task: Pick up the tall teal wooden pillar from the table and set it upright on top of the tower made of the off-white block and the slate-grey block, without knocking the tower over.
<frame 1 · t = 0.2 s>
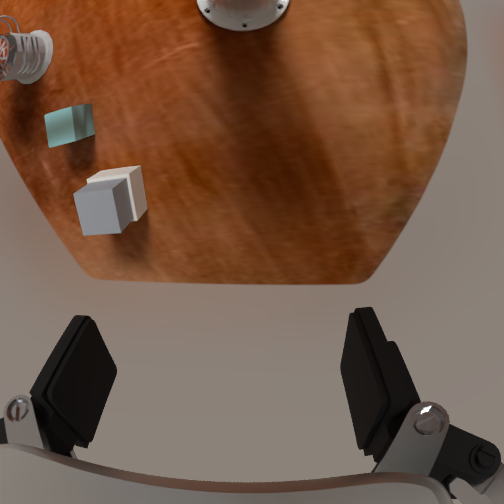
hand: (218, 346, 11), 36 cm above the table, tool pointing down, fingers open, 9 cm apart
teal pillar: (80, 121, 39), on the table
tower top: (111, 200, 41), point 5 cm above the table, touching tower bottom
french press: (32, 52, 33), on the table
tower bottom: (124, 189, 45), on the table, touching tower top
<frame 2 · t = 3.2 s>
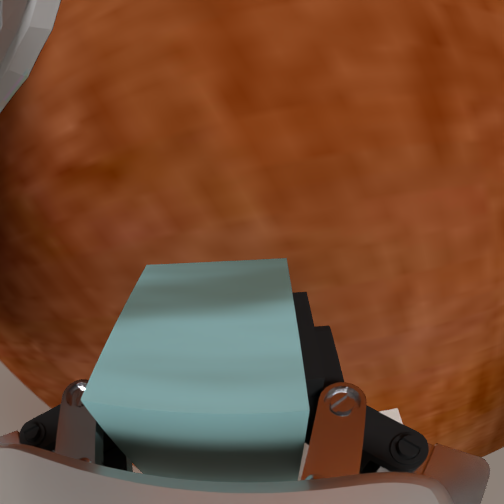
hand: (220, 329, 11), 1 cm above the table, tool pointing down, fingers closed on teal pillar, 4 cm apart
teal pillar: (222, 317, 12), on the table, touching gripper
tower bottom: (334, 440, 18), on the table, touching tower top
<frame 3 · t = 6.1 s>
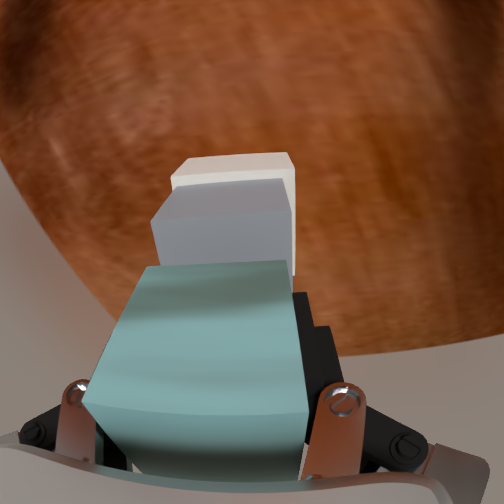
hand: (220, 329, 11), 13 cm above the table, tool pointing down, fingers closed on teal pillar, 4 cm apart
teal pillar: (222, 318, 12), point 12 cm above the table, touching gripper
tower top: (233, 229, 19), point 5 cm above the table, touching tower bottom
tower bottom: (240, 200, 23), on the table, touching tower top
when the fingers open (12 cm above the table, at t = 6.7 s): teal pillar drops 1 cm, resting on tower top.
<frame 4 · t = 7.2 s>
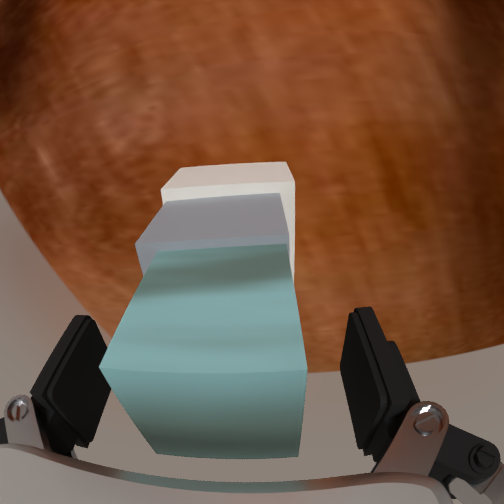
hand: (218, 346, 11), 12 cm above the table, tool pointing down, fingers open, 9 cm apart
teal pillar: (227, 300, 13), point 10 cm above the table, touching tower top
tower top: (227, 247, 17), point 5 cm above the table, touching teal pillar
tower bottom: (236, 212, 22), on the table
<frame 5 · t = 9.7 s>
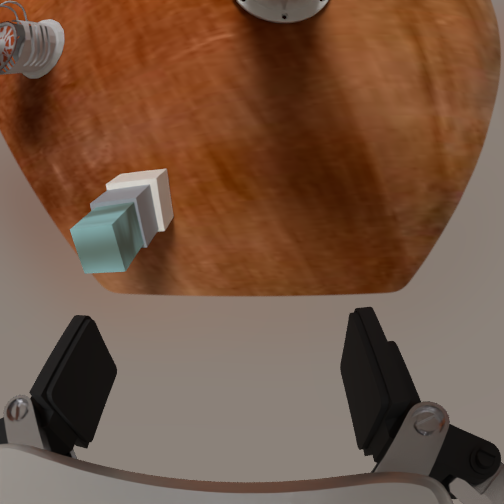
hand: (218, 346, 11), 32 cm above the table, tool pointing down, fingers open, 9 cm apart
teal pillar: (119, 225, 33), point 10 cm above the table, touching tower top
tower top: (132, 209, 37), point 5 cm above the table, touching teal pillar, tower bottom
french press: (40, 43, 29), on the table
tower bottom: (146, 194, 42), on the table, touching tower top
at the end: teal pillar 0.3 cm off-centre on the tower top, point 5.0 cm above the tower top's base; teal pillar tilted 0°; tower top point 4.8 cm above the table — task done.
